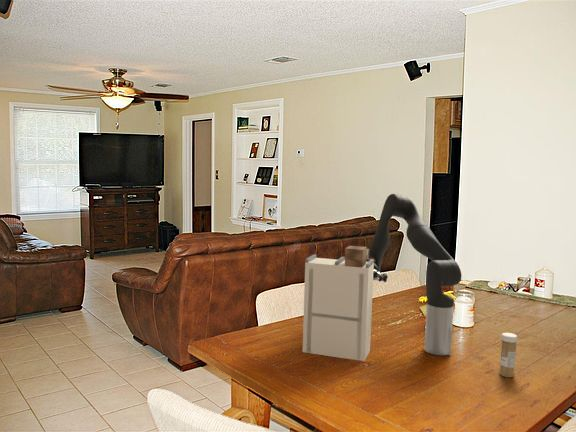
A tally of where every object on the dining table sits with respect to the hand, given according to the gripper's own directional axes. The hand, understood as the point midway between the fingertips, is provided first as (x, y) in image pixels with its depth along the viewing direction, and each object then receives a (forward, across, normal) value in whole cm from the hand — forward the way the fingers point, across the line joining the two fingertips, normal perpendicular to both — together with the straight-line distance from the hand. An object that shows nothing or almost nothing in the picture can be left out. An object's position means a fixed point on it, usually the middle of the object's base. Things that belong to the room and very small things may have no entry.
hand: (369, 276), depth 196 cm
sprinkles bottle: (+25, +49, +17) cm, 58 cm away
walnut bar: (+14, -5, -6) cm, 16 cm away
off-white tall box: (+16, -5, +27) cm, 32 cm away
